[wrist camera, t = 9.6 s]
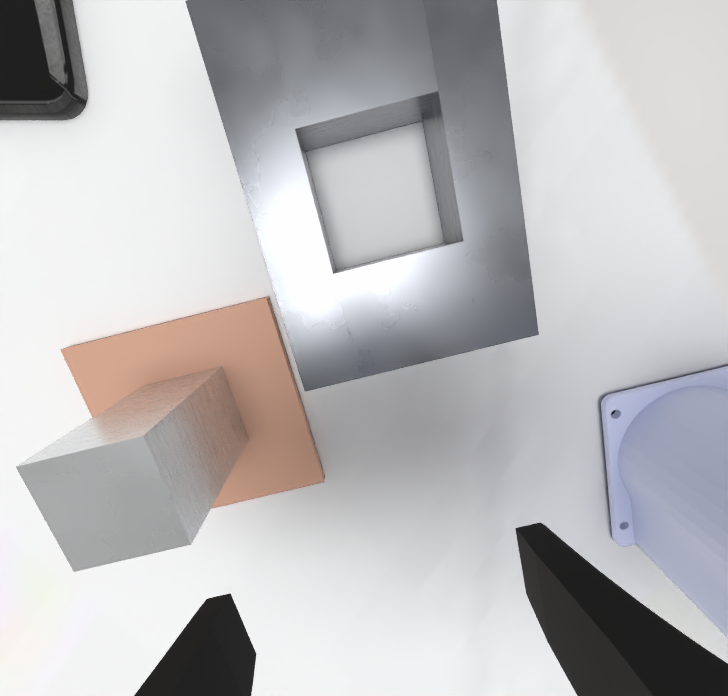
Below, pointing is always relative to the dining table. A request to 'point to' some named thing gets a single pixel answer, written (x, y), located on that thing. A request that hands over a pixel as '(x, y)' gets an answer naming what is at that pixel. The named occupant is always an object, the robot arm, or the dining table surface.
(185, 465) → the steel peg
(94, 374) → the mat
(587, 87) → the dining table surface
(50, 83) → the phone
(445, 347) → the socket plate
